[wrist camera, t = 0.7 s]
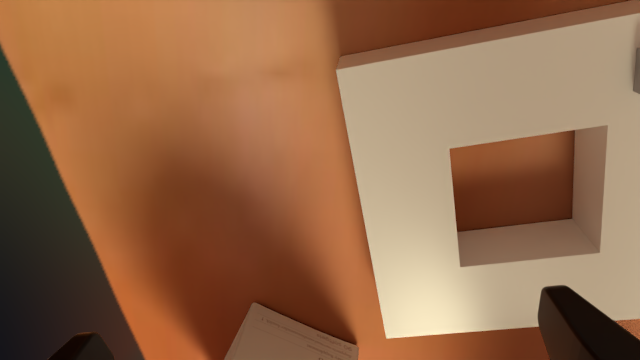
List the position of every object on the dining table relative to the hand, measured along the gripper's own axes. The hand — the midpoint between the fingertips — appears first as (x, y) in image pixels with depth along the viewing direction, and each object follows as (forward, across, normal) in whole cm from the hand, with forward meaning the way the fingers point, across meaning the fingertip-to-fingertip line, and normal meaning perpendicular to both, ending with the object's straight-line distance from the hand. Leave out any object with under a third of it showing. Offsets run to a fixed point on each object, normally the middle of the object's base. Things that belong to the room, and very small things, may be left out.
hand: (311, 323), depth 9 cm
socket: (+12, -8, +6) cm, 16 cm away
